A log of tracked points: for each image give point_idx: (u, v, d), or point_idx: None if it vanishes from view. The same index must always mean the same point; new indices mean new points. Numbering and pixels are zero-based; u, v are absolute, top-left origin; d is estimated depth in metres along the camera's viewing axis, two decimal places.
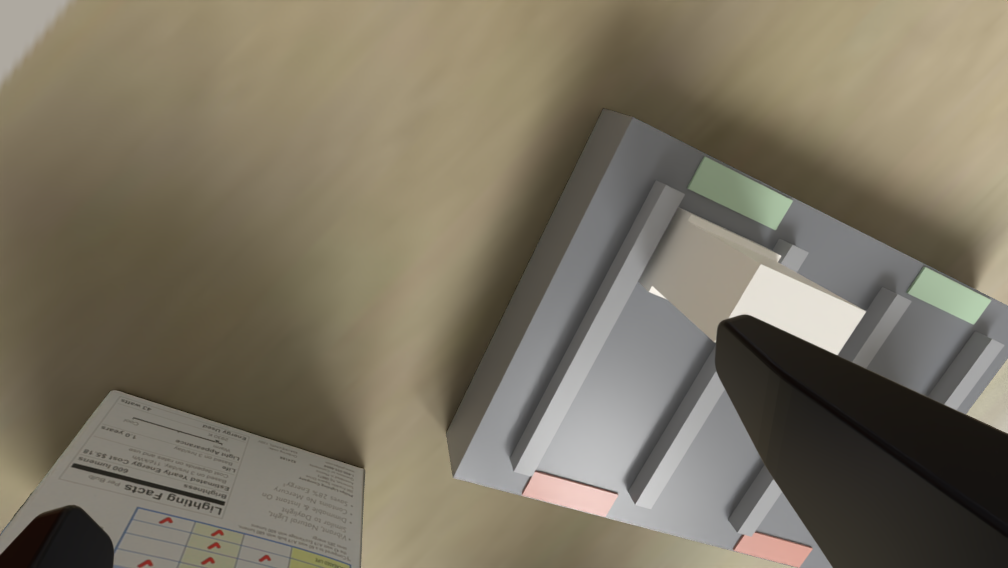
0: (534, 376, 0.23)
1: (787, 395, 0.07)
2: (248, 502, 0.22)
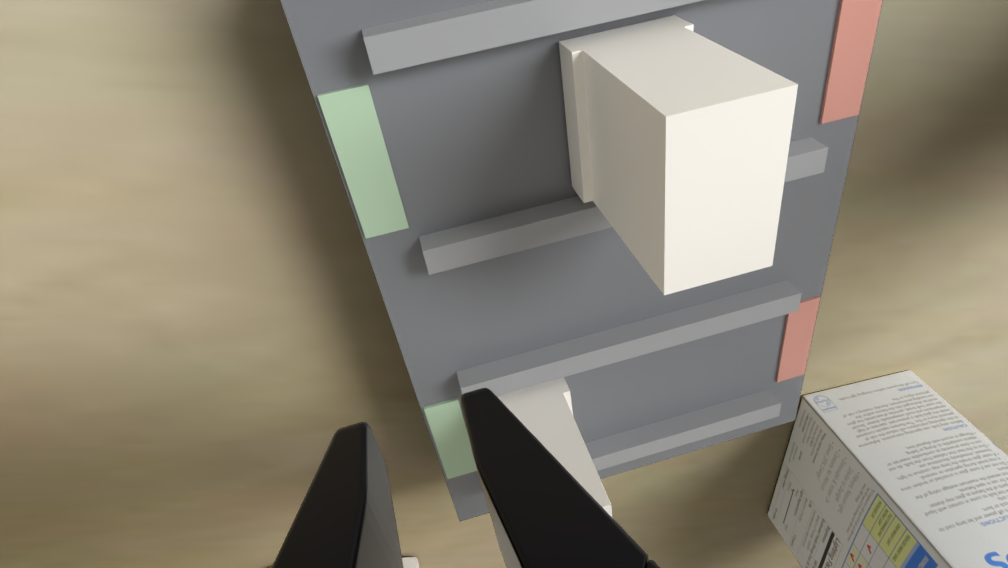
0: None
1: (483, 486, 0.07)
2: (831, 517, 0.30)
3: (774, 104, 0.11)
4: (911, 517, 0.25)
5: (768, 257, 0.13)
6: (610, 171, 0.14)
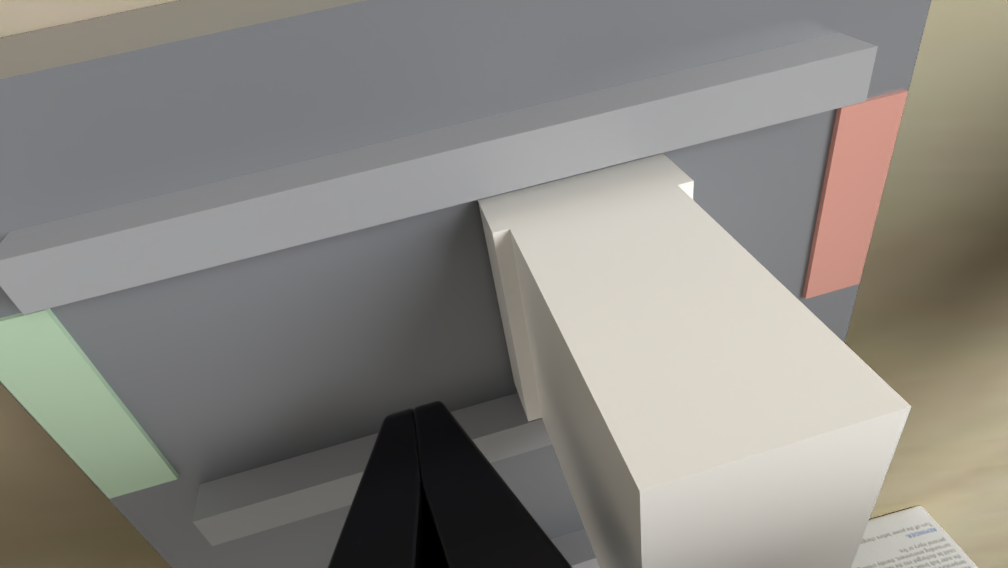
0: None
1: None
2: None
3: (860, 439, 0.05)
4: None
5: None
6: (559, 422, 0.09)
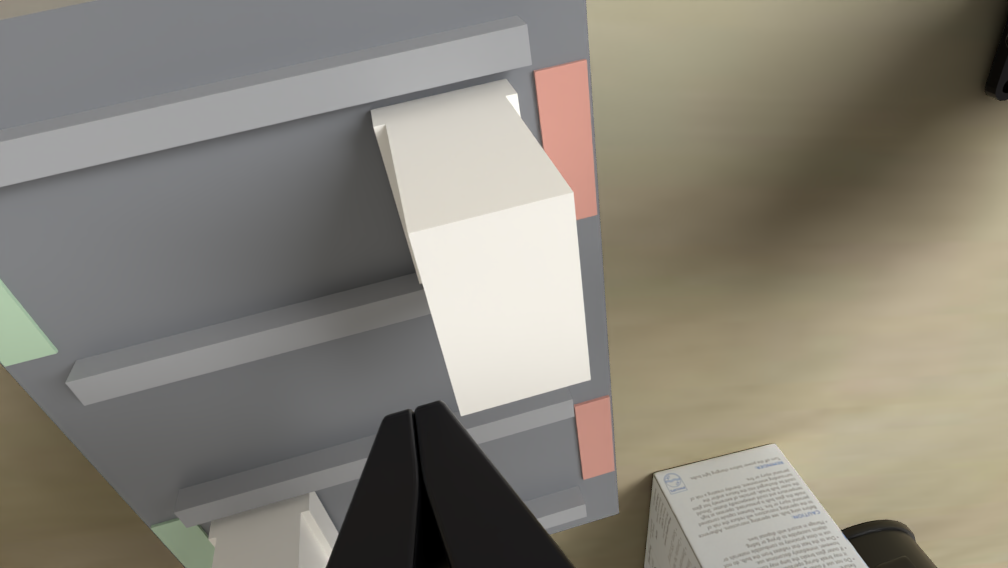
0: None
1: None
2: None
3: (548, 214, 0.09)
4: None
5: (583, 371, 0.11)
6: None
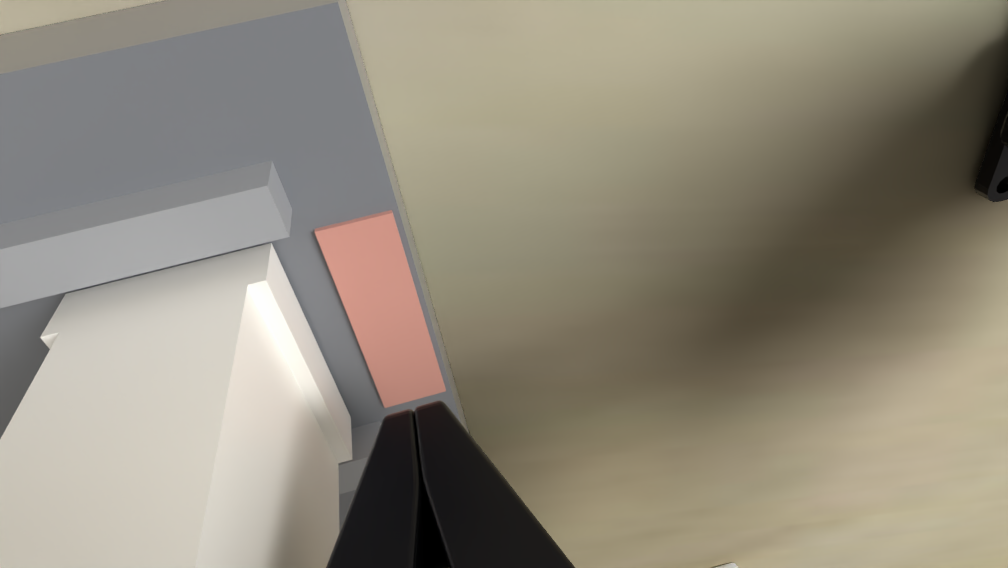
0: None
1: None
2: None
3: None
4: None
5: None
6: None
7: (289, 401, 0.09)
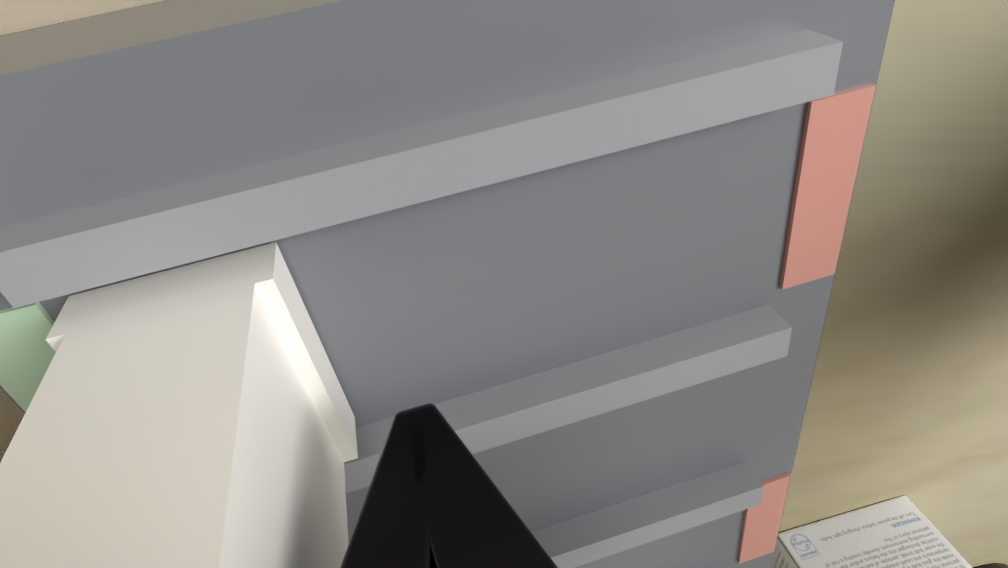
0: None
1: None
2: None
3: None
4: None
5: None
6: None
7: (297, 399, 0.09)
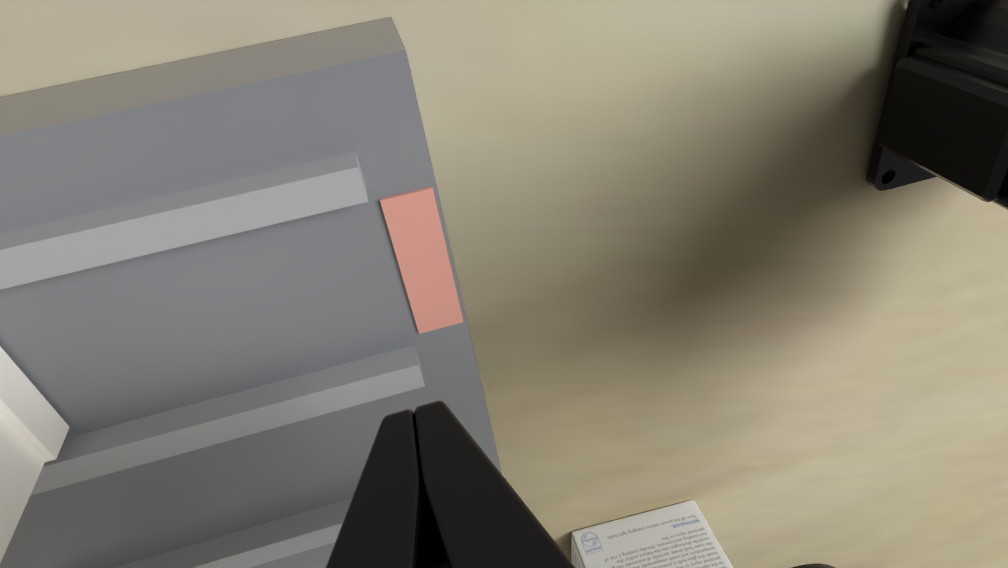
0: None
1: None
2: None
3: None
4: None
5: None
6: None
7: None
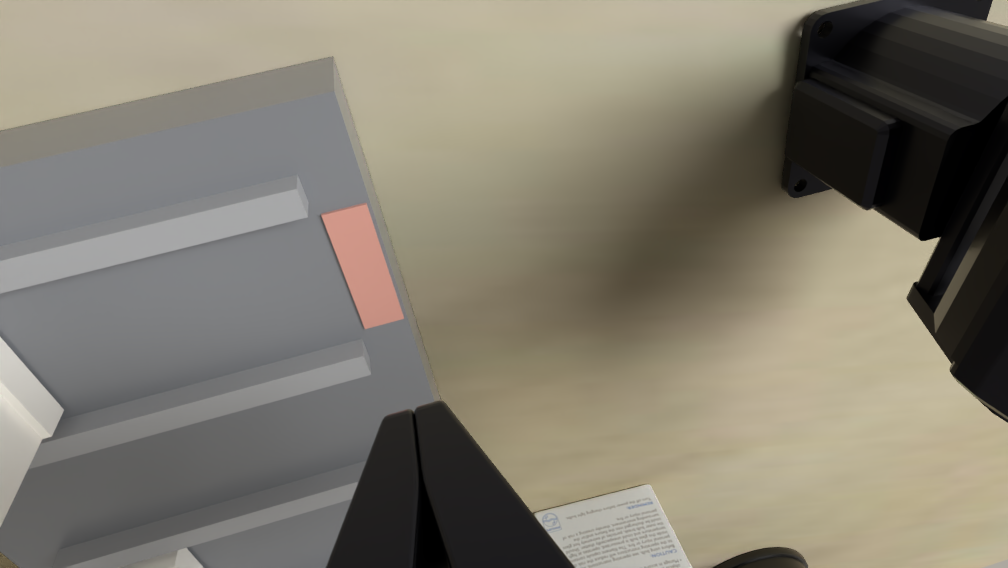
0: None
1: None
2: None
3: None
4: None
5: None
6: None
7: None
